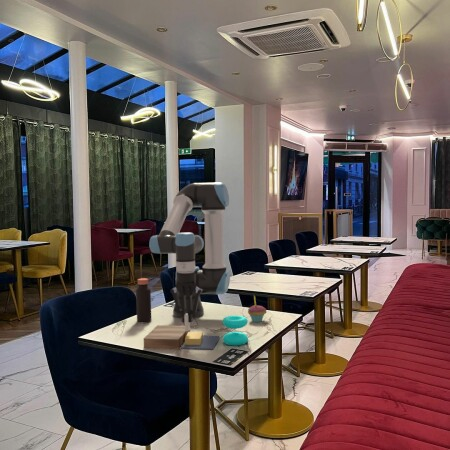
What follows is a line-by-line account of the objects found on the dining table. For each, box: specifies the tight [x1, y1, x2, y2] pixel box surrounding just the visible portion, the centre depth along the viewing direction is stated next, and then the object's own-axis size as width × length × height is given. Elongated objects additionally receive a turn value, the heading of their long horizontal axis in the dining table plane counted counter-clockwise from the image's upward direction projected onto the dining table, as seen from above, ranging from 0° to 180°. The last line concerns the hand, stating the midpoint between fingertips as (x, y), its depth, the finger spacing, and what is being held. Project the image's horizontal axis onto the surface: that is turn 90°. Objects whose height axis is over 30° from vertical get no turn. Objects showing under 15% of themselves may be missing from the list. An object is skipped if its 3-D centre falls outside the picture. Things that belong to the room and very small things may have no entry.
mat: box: [180, 334, 221, 351], centre depth 184 cm, size 16×12×1 cm
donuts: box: [222, 314, 249, 347], centre depth 183 cm, size 10×10×10 cm
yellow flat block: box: [185, 331, 204, 345], centre depth 184 cm, size 9×6×2 cm, turn 176°
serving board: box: [143, 324, 191, 351], centre depth 186 cm, size 18×14×4 cm
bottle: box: [135, 277, 152, 323], centre depth 217 cm, size 7×7×20 cm
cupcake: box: [247, 295, 267, 323], centre depth 214 cm, size 9×8×12 cm
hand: (187, 330), depth 184 cm, fingers closed
